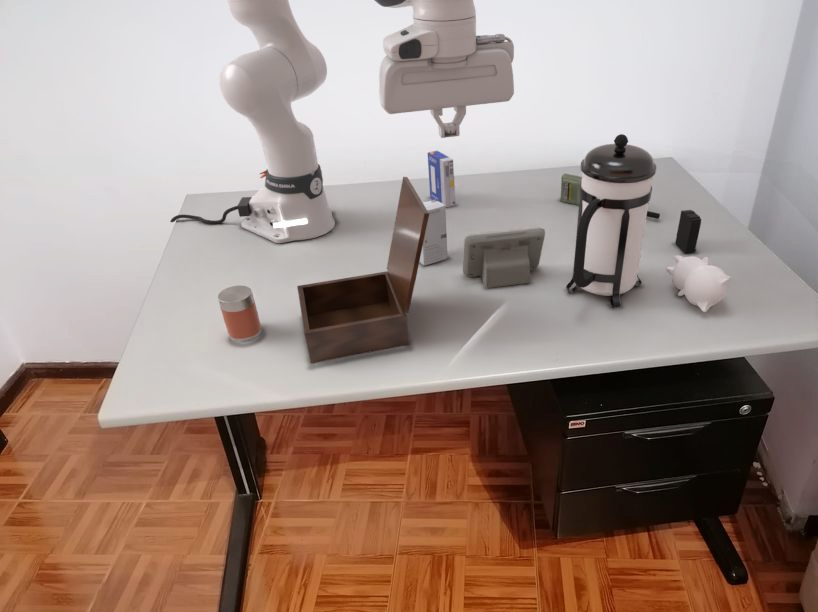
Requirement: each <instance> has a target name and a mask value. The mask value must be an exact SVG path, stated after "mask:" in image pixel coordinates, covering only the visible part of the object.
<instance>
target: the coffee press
mask: <svg viewBox="0 0 818 612" xmlns="http://www.w3.org/2000/svg"><path fill="white" fill-rule="evenodd" d="M628 143H629V139H628V136H627V135H625V134H623V133H620V134H618V135H617V136H615V137H614V140H613V143H608V144H602V145H598V146H596V147H594V148H592V149H591V150H589V151H588V152H587V153H586V154H585V157H584V158H583V159H582V160H581V161H580V171H581V177H582V181H581V182H580V191H579V195H580V202H579V205H578V213H577V225H576V234H575V235H576V236H575V248H574V258H573V268H572V269H573V270H572V277H571V279H570V281H569V282H568V283H567V284H566V286H565V289H566V291H567V292H568V294H574V293H576V292H577V291H578V290H579V289H582V290H584V291H585V292H587V293H590V294H593V295H597V296H605V297H606V296H607V297H608V298H609V302H610V307H611V308H618V307H619V308H620V307H621V296H620V295H622V294H625V293H627V292H629V291H630V290H631V289H633V288H634V287H635V288H638V287H640V286H641V285H642V279H640V277H639V274H638V273H639V268H640V262H641V255H642V248H643V241H644V235H645V229H646V222H647V211H649V210H648V209H649V204H650V203H649V202H650V201H651V199H652V192H653V186H652V184H653V177H654V176H655V175H656V173H657V165H656V162H654V157H653V156H652V155H651V154H650V153H649V152H648V151H647V150H645V149H644V148H642V147H639V146H637V145H633V144H628ZM574 284H575V285H574ZM572 286H573V287H572Z"/></svg>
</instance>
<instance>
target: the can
mask: <svg viewBox="0 0 818 612" xmlns="http://www.w3.org/2000/svg"><path fill="white" fill-rule="evenodd" d="M217 300H218V303H219V308H220V311H221V314H222V317H223V321H224V324H225V328H226V330H227V334H228V337H229V338H230V340H232V341H234V342H238V343H245V342H249V341H252V340H254V339H256V338H258V337H259V336H260V335H261V334H262V330H263V329H262V324H261V321H260V317H259V314H258V313H259V312H258V310H257V309H258V308H257V306H256V305H257V304H256V301H255V298H254V295H253V291H252V289H251V288H250V287H249V286H247V285H231V286H228V287H226V288H223V289H222V290H221V291H219V293H218V294H217Z"/></svg>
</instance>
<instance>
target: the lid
mask: <svg viewBox="0 0 818 612" xmlns="http://www.w3.org/2000/svg"><path fill="white" fill-rule="evenodd" d="M398 199H399V200H398V204H397V209H396V215H395V218H394V219H395V220H394V226H393V231H392V237H391V242H390V248H389V254H388V260H387V265H386V271H388V273H389V276H390V278H391V281H392V283H393V286H394V288H395V291H396V293H397V296H398V298H399V301H400V303H401V306H402V308H403V311H404V313H406V314H409V313H410V308H411V305H412V299H413V294H414V290H415V289H414V288H415V284H416V279H417V276H418V275H417V274H418V271H419V265H420V262H419V261H420V256H421V251H422V246H423V242H424V237H425V232H426V227H427V222H428V218H429V213H428V211H427V209H426V208H425V206H424V204H423V202H424V201H422V199H421V197H420V196H419V194H418V193H417V190H416V189H415V187H414V186H413V184H412V182H411V180H410V179H409V177H407V176H403V177H402V181H401V187H400V193H399V197H398Z"/></svg>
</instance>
